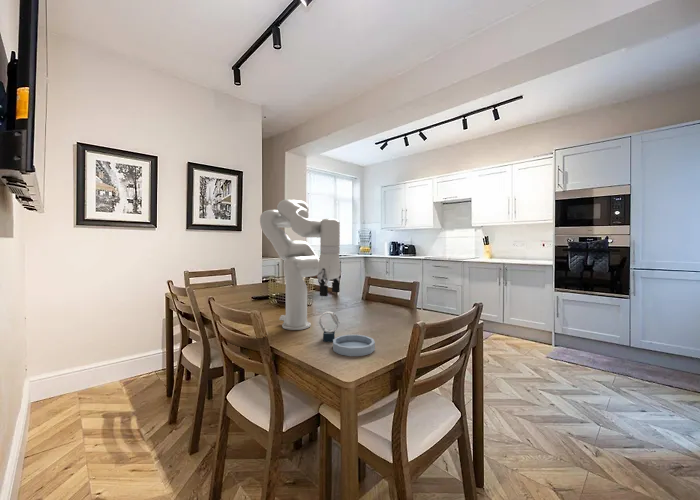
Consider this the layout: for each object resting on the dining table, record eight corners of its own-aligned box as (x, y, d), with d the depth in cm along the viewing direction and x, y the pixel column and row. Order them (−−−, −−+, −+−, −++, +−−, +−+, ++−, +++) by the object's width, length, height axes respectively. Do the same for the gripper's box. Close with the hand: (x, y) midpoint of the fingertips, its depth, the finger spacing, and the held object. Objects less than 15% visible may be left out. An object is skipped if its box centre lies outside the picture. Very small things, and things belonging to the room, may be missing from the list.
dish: (325, 351, 115) (325, 343, 115) (344, 339, 129) (344, 332, 129) (364, 359, 109) (364, 350, 109) (380, 345, 122) (380, 338, 122)
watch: (339, 341, 126) (339, 313, 126) (318, 341, 126) (318, 313, 126) (339, 337, 132) (339, 310, 131) (319, 337, 132) (319, 310, 131)
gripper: (332, 249, 137) (332, 290, 138) (309, 251, 121) (309, 296, 122) (348, 250, 134) (348, 291, 134) (327, 251, 118) (327, 298, 119)
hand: (329, 293), depth 128 cm, fingers open, 9 cm apart
